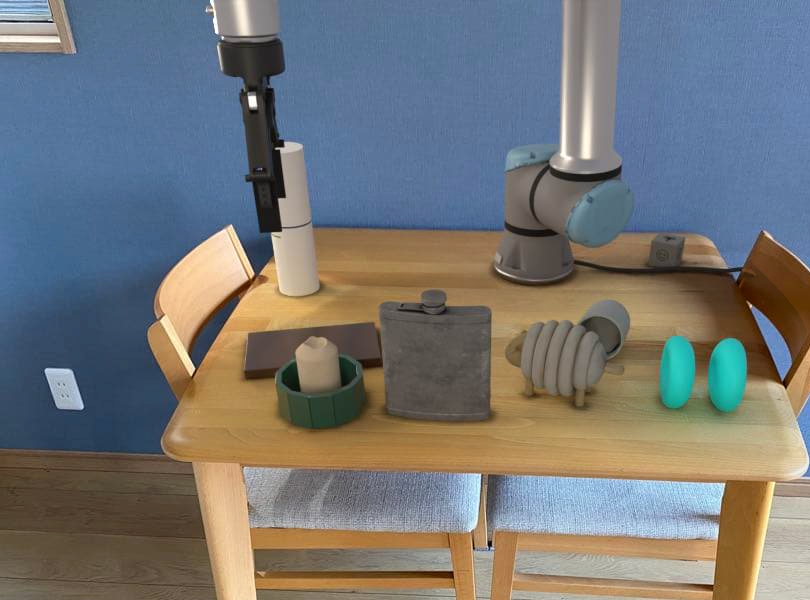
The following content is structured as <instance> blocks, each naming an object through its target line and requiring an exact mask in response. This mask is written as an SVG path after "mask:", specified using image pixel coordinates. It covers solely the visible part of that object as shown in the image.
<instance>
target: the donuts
mask: <svg viewBox="0 0 810 600" xmlns="http://www.w3.org/2000/svg"><path fill="white" fill-rule="evenodd" d="M746 353H747V352H746V349H745V347H744V345H743V344H742V342H741V341H740V340H739V339H737V338H733V337H728V338H724V339H722V340H721V341H719V343H718V344H717V345H715V347H714V349H713V351H712V353H711V356H710V360H709V364H708V372H707V387H708V388H707V389H708V394H709V398H710V400H711V403H712V404H713V406H714V407H715V408H716V409H718V410H719V411H721V412H724V413H729V412H732V411H734V410H736V409H737V408H738V407H739V406H740V404H741V402H742V400H743V397H744V394H745V391H746V390H745V389H746V385H747V375H748V359H747V354H746ZM659 370H660V371H659V392H660V398H661V401H662V403H663V404H664V405H665V407H667V408H669V409H672V410H673V409H674V410H675V409H679V408H681V407H683V406H684V405H685V404H686V403H687V402H688V401H689V399H690V397H691V395H692V392H693V389H694V385H695V384H694V383H695V376H696V356H695V352H694V348H693V346H692V344H691V342H690V341H689V340H688V339H687V337H684V336H682V335H672V336H671V337H669V338H668V339H667V340H666V342H665V343H664V347H663V350H662V354H661V360H660V369H659Z"/></svg>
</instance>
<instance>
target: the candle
mask: <svg viewBox="0 0 810 600" xmlns="http://www.w3.org/2000/svg"><path fill="white" fill-rule="evenodd" d="M295 354H296V360H297V367H298V374H299V381H300V388H301V391H300V392H301V393H306V394H317V393H327V392H332V391H335V390H337V389H340V388H342V386H341V377H340V368H339V359H338V350H337V347H336V345H334V344H333V343H332V342H330V341H328V340H327V339H326V338H324V337H320V338H317V337H314V336H311V337H309V339H308V340H307V341H305V342H304V343H303V344H301V345H300V346H299V347H298V348H297V350H296V352H295Z"/></svg>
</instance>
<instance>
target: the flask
mask: <svg viewBox="0 0 810 600" xmlns="http://www.w3.org/2000/svg"><path fill="white" fill-rule="evenodd" d="M447 301H448V294H447V292H446V291H444V290H442V289H436V288H435V289H427V290H424V291H422V292H421V293H420V302H410V301H409V302H408V301H407V302H406V301H396V300H395V301H394V300H387V301H383V302H380V304H379V305H378V316H379V329H380V343H381V358H382V366H383V367H382V369H383V383H384V394H385V408H386V412H387V414H389V415H391V416H397V417H403V418H409V419H415V420H416V419H418V420H428V421H444V422H477V421H478V422H479V421H485V420H488V419H489V418H490V416H491V381H492V380H491V378H492V377H491V375H492V374H491V372H492V369H491V368H492V315H493V314H492V312H493V311H492V308H491V307H489V306H486V305H446V302H447Z"/></svg>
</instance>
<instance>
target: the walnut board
mask: <svg viewBox="0 0 810 600" xmlns="http://www.w3.org/2000/svg"><path fill="white" fill-rule="evenodd" d="M311 336H314V337H317V338H320V337H324V338H326V339H327V340H328V341H330V342H332V343H333V344H334V345H336V347H337V350H338V354H343V355H348V356H350V357H352V358H353V359H355V360H356V361H358V362H359V363H361V364H362V369H363V368H374V367H382V366H383V361H382V353H381V350H380V349H381V348H380V344H379V340H378V333H377V329H376V323H375V321H367V322H366V321H365V322H356V323H355V322H354V323H345V324H334V325H322V326H321V325H320V326H310V327H309V326H308V327H299V328H288V329H277V330H265V331H264V330H263V331H254V332H252V331H251V332H247V339H246V348H245V354H244V355H245V356H244V366H243V373H244V379H245V380H250V379H260V378H261V379H262V378H271V377H276V372H277V371H278V370H279V369H280V368H281V367H282V366H283V365H284V364H286V363H287V362H288V361H290V360H293V359H296V354H295V352H296V350H297V348H298V347H299V346H300V345H301V344H303V343H304V342H305V341H307V340H308V339H309V337H311Z"/></svg>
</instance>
